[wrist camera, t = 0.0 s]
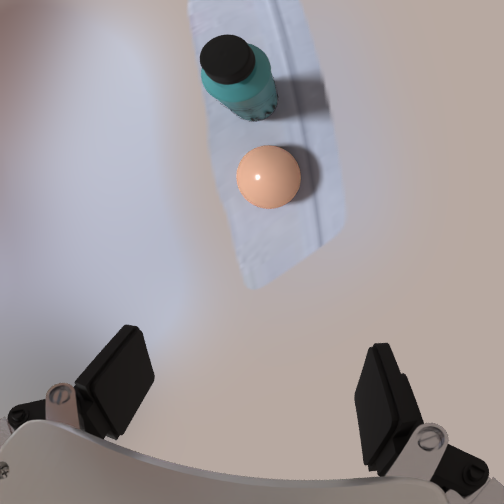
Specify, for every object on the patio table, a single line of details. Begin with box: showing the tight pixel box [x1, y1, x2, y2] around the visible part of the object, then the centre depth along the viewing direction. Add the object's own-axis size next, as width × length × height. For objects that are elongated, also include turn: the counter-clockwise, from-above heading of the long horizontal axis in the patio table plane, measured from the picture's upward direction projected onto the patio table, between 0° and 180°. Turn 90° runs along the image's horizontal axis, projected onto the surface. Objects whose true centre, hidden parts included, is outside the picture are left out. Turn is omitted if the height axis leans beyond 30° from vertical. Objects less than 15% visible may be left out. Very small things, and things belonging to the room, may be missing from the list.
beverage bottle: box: [200, 35, 278, 122], centre depth 25 cm, size 6×7×20 cm
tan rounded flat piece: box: [237, 145, 301, 209], centre depth 37 cm, size 8×8×3 cm
